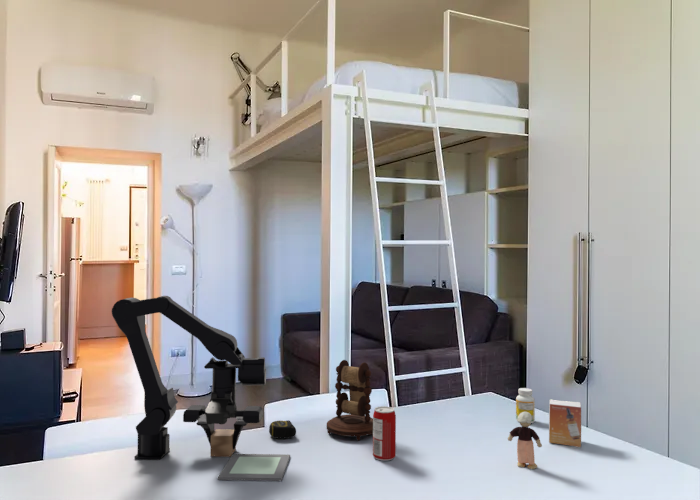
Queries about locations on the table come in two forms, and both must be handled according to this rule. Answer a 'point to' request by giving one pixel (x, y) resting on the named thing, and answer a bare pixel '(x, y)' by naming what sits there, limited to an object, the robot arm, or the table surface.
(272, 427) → the tape measure
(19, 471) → the table surface
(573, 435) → the small box
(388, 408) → the soda can
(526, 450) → the grandmother figurine
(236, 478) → the mat
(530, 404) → the supplement bottle
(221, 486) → the table surface
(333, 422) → the wooden spool holder
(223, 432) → the cube
